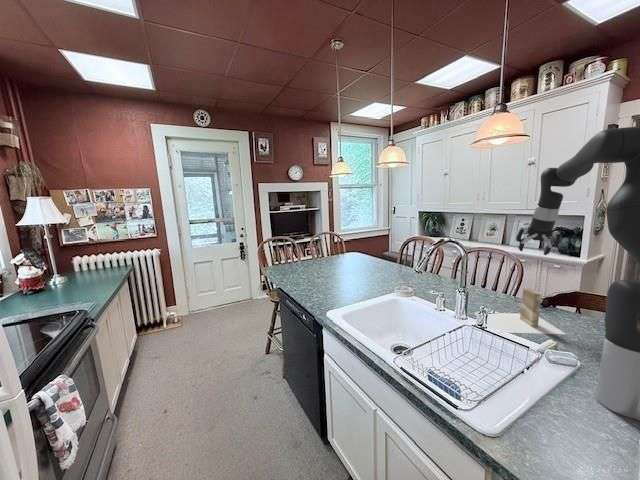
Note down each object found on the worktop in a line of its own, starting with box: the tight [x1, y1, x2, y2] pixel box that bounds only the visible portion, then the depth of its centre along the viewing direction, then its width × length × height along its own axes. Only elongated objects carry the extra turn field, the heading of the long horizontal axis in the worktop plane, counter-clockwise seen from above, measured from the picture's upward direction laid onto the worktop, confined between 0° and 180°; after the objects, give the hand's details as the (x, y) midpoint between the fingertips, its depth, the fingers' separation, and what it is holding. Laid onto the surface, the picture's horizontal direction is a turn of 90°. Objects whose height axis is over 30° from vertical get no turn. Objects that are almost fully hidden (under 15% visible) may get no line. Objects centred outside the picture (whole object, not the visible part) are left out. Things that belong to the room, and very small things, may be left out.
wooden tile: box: [519, 287, 542, 327], centre depth 110 cm, size 3×7×14 cm, turn 175°
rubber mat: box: [473, 312, 567, 335], centre depth 112 cm, size 26×18×1 cm
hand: (532, 252), depth 116 cm, fingers open, 8 cm apart
